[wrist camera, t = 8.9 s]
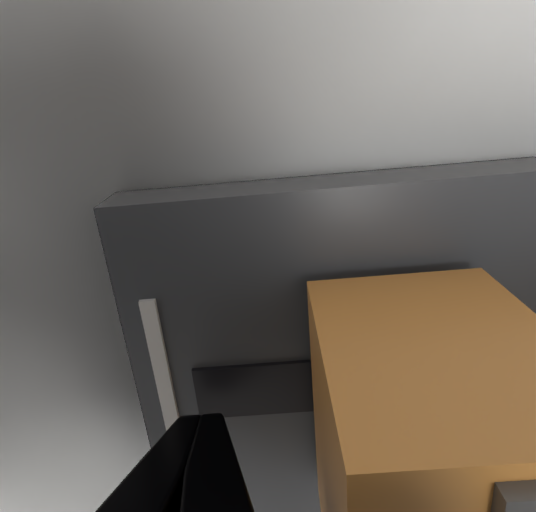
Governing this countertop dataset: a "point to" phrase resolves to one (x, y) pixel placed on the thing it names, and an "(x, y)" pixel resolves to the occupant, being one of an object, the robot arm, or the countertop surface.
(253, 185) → the console
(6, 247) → the countertop surface
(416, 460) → the orange fader
